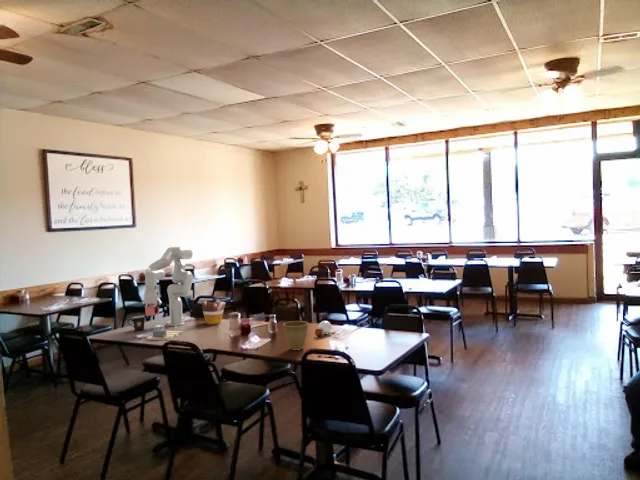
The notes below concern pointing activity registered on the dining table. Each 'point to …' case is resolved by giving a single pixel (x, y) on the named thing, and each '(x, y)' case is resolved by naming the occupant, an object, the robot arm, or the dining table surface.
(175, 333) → the slatted wooden trivet
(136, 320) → the coffee mug
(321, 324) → the potion bottle
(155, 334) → the coupler nose
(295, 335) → the plant pot
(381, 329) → the dining table surface
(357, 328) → the dining table surface
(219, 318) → the bucket of meat
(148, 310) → the block
